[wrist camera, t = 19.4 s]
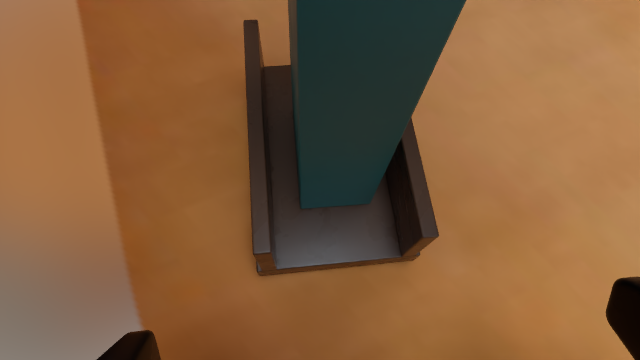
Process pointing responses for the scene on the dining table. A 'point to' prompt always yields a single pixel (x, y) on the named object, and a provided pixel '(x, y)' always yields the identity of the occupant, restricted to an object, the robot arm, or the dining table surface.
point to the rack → (324, 222)
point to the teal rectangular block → (358, 88)
